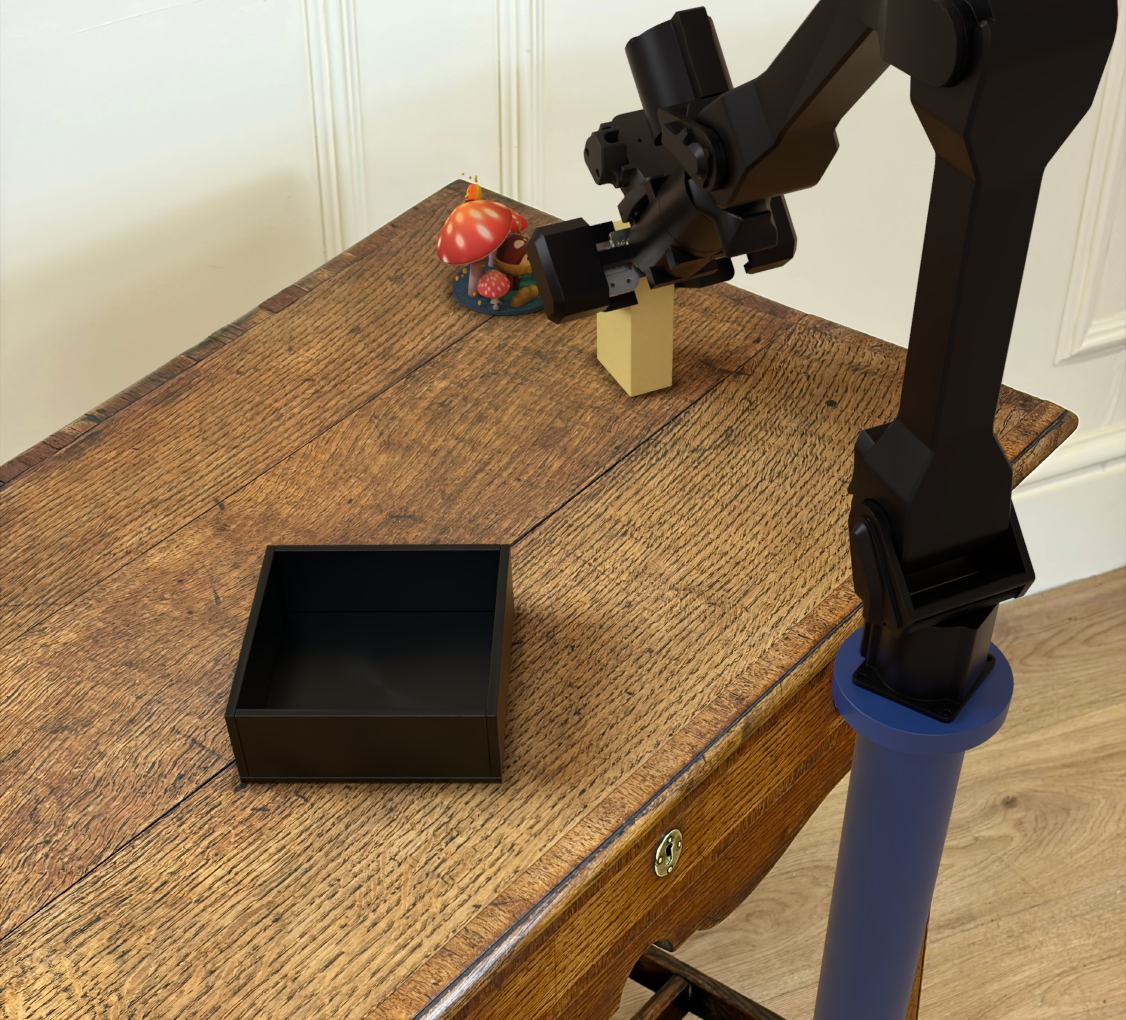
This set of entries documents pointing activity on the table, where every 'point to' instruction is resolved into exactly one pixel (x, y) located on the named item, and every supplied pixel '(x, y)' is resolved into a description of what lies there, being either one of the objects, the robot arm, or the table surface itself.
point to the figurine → (505, 272)
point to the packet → (639, 338)
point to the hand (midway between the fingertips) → (626, 286)
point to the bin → (375, 665)
